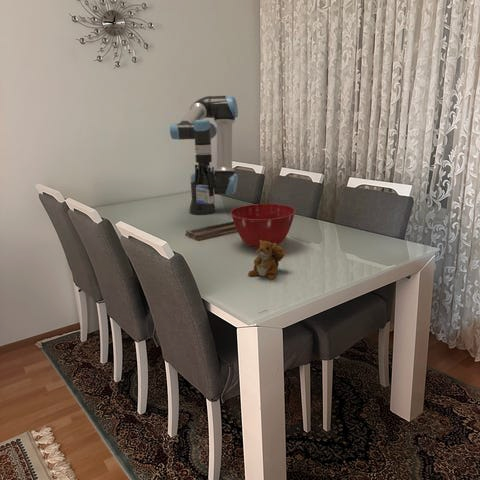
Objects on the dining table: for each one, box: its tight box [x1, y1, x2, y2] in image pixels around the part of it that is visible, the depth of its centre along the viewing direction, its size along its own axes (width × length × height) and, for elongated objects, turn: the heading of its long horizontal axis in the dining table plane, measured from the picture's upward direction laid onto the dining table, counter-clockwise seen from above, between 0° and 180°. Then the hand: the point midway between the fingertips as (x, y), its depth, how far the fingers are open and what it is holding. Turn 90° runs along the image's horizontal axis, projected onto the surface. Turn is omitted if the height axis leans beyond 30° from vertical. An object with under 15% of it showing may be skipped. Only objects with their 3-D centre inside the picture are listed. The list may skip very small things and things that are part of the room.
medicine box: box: [196, 185, 215, 204], centre depth 218 cm, size 8×4×9 cm, turn 60°
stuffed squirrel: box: [247, 240, 286, 281], centre depth 167 cm, size 10×14×13 cm
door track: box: [184, 220, 238, 242], centre depth 223 cm, size 12×30×2 cm, turn 126°
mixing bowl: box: [230, 203, 296, 249], centre depth 201 cm, size 28×28×16 cm
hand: (205, 201), depth 219 cm, fingers closed on medicine box, 9 cm apart
